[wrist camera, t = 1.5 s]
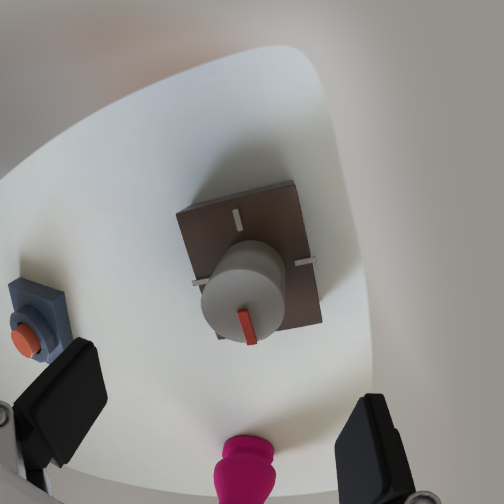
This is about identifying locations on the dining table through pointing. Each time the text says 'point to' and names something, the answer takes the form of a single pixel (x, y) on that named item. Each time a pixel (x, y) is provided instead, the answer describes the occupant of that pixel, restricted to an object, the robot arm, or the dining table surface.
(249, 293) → the dial knob
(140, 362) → the dining table surface
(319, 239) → the dining table surface
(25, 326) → the button
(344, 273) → the dining table surface
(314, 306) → the dial panel
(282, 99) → the dining table surface
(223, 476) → the pepper mill
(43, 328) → the button box
